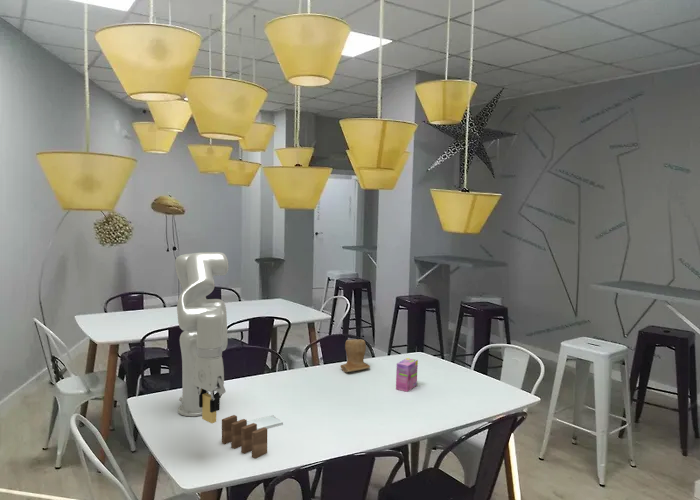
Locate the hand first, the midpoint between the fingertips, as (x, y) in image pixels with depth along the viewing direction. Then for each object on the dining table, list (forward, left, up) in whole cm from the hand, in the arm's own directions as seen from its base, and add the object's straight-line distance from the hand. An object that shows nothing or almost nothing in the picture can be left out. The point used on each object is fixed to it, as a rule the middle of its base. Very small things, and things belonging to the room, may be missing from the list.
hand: (209, 408), depth 160 cm
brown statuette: (-22, +100, -15) cm, 103 cm away
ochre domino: (0, 0, -4) cm, 4 cm away
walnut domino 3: (+7, +10, -15) cm, 19 cm away
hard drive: (-5, +26, -15) cm, 30 cm away
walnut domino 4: (+12, +10, -15) cm, 22 cm away
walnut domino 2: (+2, +10, -15) cm, 18 cm away
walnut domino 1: (-3, +10, -15) cm, 18 cm away
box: (+12, +95, -15) cm, 97 cm away
